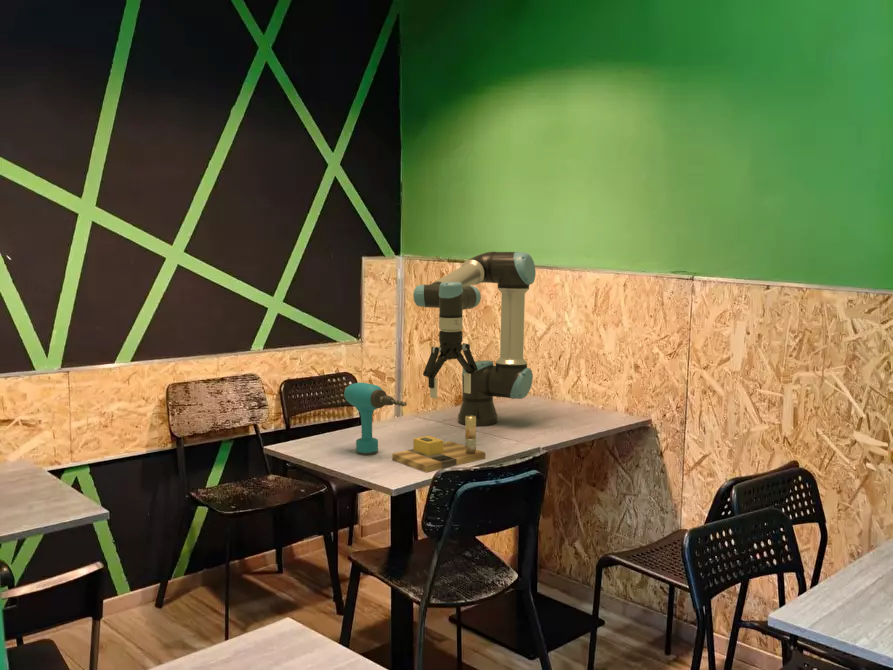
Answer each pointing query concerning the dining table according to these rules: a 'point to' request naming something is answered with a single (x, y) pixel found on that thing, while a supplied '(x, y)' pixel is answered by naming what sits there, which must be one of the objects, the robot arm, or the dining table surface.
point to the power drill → (368, 411)
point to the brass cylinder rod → (470, 434)
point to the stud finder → (428, 445)
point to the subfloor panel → (437, 457)
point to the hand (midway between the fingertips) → (450, 395)
